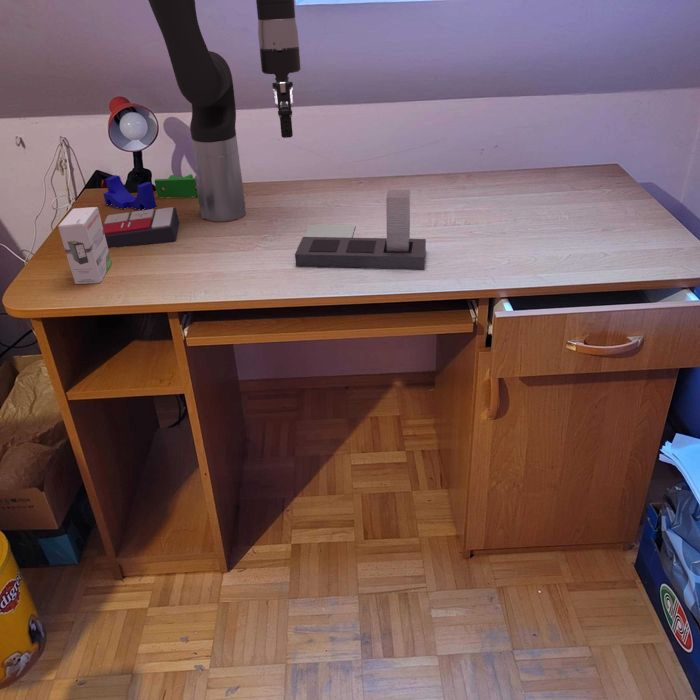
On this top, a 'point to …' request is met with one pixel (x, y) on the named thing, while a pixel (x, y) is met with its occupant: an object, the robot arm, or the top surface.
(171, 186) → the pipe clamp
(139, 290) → the top surface
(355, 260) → the dark grey slotted tray
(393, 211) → the steel plug
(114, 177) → the cable clip
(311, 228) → the mat
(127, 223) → the red grey box
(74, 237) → the ink box
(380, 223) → the top surface
